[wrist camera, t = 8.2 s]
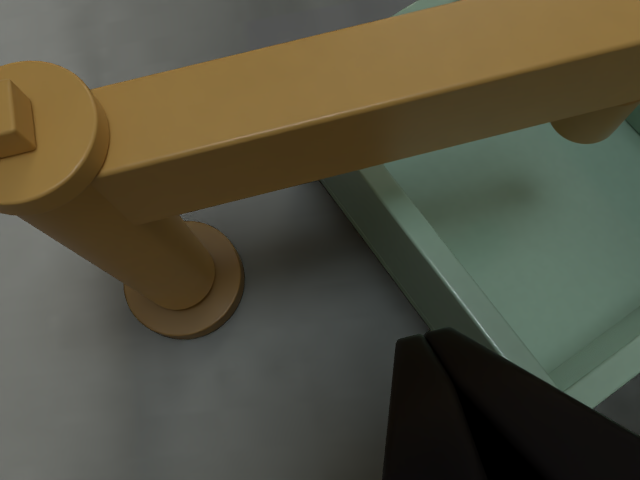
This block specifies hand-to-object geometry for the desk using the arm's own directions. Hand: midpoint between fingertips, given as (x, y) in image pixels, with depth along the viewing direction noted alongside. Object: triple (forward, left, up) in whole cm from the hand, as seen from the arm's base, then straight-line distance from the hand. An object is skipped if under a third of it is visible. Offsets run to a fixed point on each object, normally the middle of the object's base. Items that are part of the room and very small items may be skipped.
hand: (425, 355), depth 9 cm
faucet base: (+7, +3, -11) cm, 13 cm away
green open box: (+3, -8, -11) cm, 14 cm away
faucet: (+5, -1, -10) cm, 11 cm away
